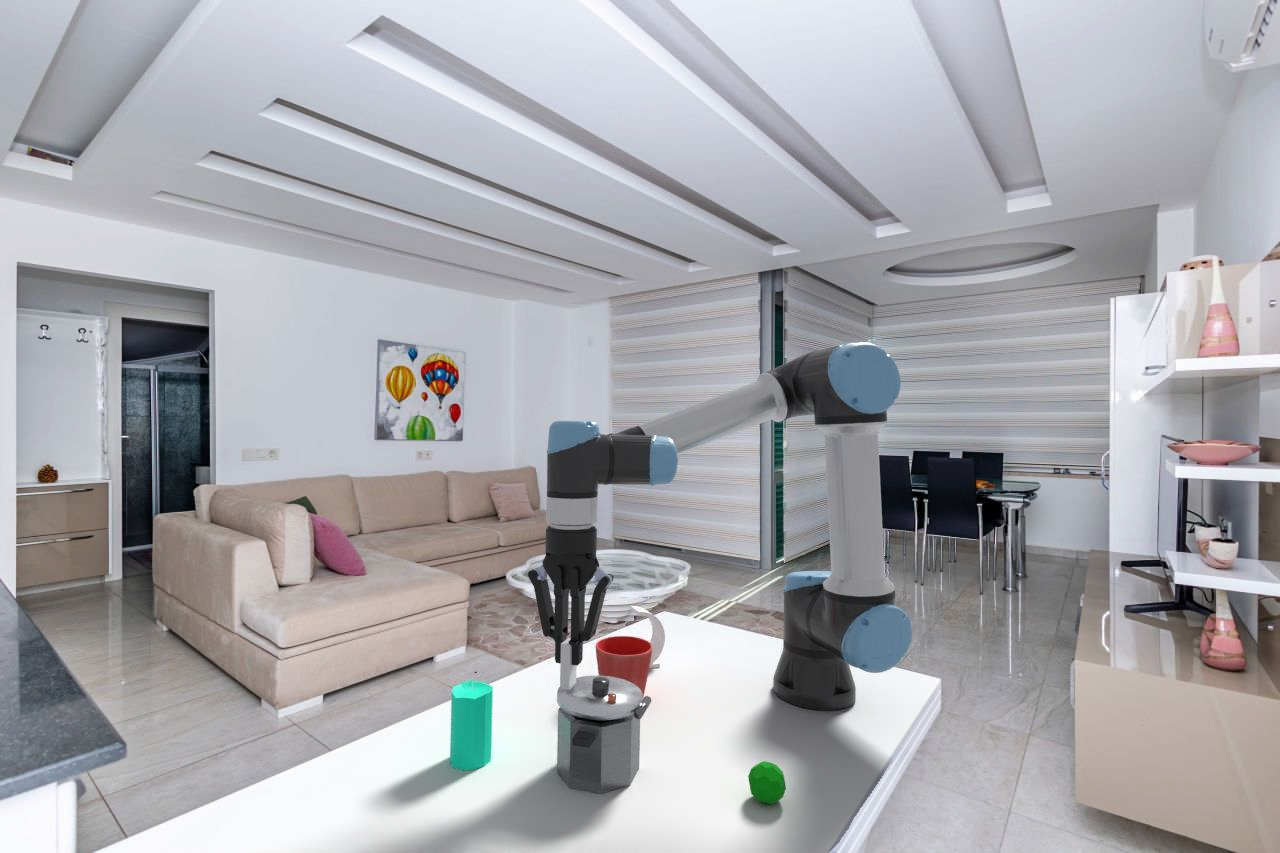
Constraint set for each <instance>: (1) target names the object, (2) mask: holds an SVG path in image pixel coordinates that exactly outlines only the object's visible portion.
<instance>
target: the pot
mask: <svg viewBox="0 0 1280 853" xmlns="http://www.w3.org/2000/svg"><path fill="white" fill-rule="evenodd" d="M640 742H641V719H636V718H635V717H634V714H632V715H630V716H627V717H624V718H620V719H614V720H592V719H585V718H581V717H577V716H574V715H572V714H569V713H567V712H566V711H564V710H563V709H562V708H561V707H560V706H559V708H558V709H557V746H556V749H557V750H556V773H557V774H558V775H559V777H560V778H561V780H563V782H564V783H565V784H566V786H567V787H568V789H571V790H572V789H573V790H577V791H582V792H583V791H584V792H588V793H593V794H600V795H602V794H606V793H609V792H612V791H616V790H619V789H623V788H627V787H629V786H631V784H632V782H633V780H634V779H635V777H636V775H637V773H638V771H639V770H640V747H641V746H640V744H641V743H640Z"/></svg>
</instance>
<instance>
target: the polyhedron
mask: <svg viewBox="0 0 1280 853" xmlns="http://www.w3.org/2000/svg"><path fill="white" fill-rule="evenodd" d="M747 777H748V779H747V780H748V783H749V789H750V794H751V795H752V796H753V797H754V798H755V800H756V801H758V802H760V803H763V804H766V805H773V804H775V803H777V802H779V801H780V800H781V799H782V798H783V797H784V795H785V792H786V790H787V788H786V787H787V786H786V780H785V776H784V772H783V770H782V769H781V768H780V767H779V766H778V765H777V764H776V763H773V762H769V761H766V760H765V761H761V762H760V761H759V763H757V764H755V765H754V766H753V767H751V768H750V770H749V773H748V776H747Z"/></svg>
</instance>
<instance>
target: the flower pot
mask: <svg viewBox="0 0 1280 853" xmlns="http://www.w3.org/2000/svg"><path fill="white" fill-rule="evenodd" d="M652 649H653V647H652V644H651V643H650V641H648V640H646V639H644V638H641V637H638V636H637V637H636V636H629V635H617V636H616V635H615V636H608V637H603V638H602V639H600V640H598V641H597V642H596V643H595V656H596V662H597V663H596V664H597V673H598V676H610V677H616V678H620V679H624V680H627V681H629V682H631V683H633V684H635V685H636V686H638V687H639V688H640V690H641V691H642V693H643V698H644V697H645V696H644V695H645V692H646V687H647V682H648V677H649V671H650V669H649V667H650V662H651V656H652Z"/></svg>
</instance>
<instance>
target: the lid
mask: <svg viewBox="0 0 1280 853" xmlns="http://www.w3.org/2000/svg"><path fill="white" fill-rule="evenodd" d="M556 702H557V706H559V708H560V707H561V708H562V709H563V710H564V711H566V712H567V713H569V714H572V715H574V716H577V717H581V718H585V719H592V720H614V719H620V718H624V717H627V716H630V715H632V714H634V717H635V718H636V719H640V720H641V719H642V718H643V716H644V715H645V713H646V712H647V710H648V708H649V707H650V704H651V703H652V697H651V696H649V695H645V696H644V697H643V693H642V691H641V690H640V688H639V687H638V686H636V685H635V684H633V683H631V682H629V681H627V680H624V679H620V678H616V677H610V676H599V675H585V676H579V677H576V683H575V684H574V685H573V687H572V688H571V689H570V690H567V689H560V686H559V687H558V688H557V693H556Z"/></svg>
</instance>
